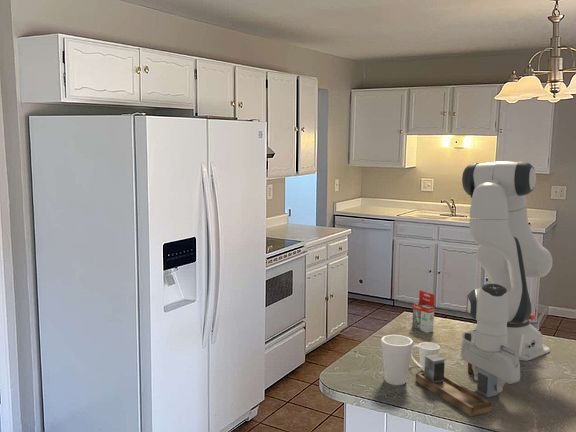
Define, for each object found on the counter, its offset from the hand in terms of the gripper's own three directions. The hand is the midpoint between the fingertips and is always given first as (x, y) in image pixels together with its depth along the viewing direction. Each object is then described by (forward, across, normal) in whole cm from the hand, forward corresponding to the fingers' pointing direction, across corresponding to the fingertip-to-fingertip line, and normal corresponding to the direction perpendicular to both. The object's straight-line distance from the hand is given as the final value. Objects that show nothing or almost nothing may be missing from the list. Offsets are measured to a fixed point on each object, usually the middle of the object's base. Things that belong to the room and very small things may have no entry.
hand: (488, 385), depth 168 cm
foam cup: (+2, +18, +20) cm, 27 cm away
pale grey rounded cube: (+2, 0, 0) cm, 2 cm away
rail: (+2, +3, +11) cm, 12 cm away
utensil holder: (+2, +13, -8) cm, 15 cm away
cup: (+2, +22, +6) cm, 23 cm away
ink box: (+3, +52, -17) cm, 55 cm away
